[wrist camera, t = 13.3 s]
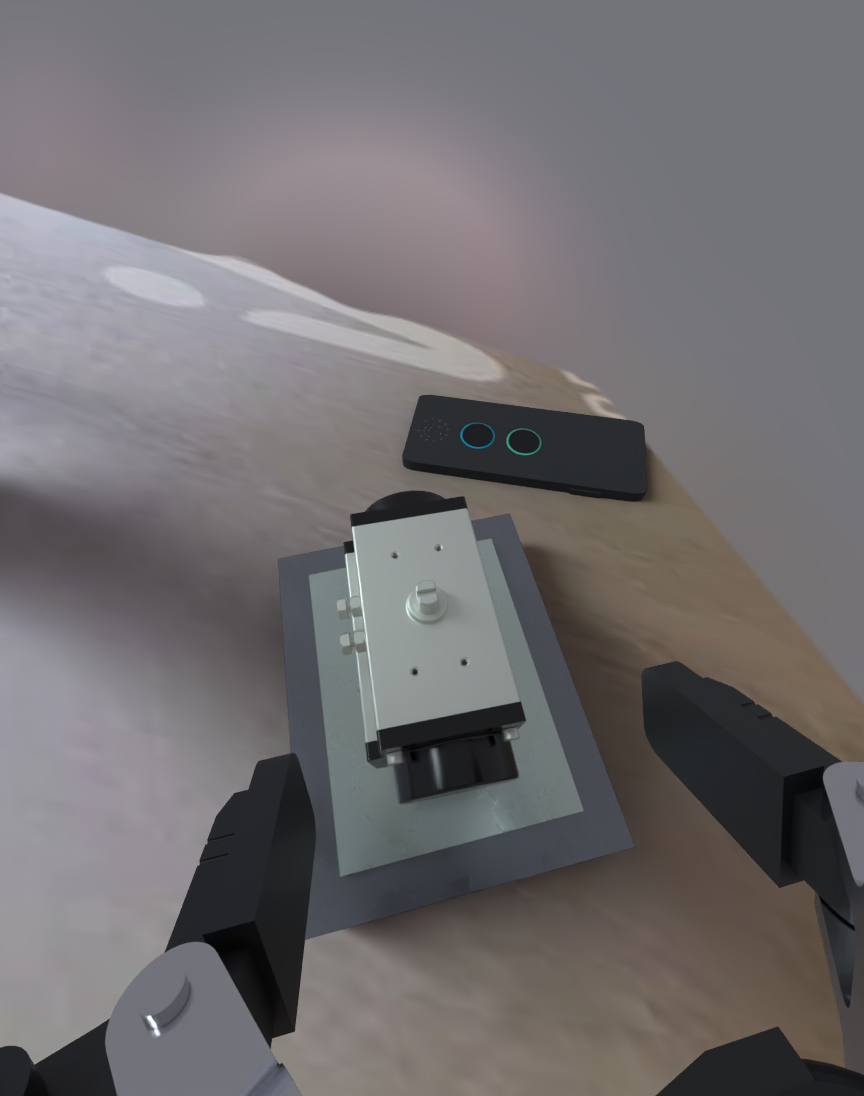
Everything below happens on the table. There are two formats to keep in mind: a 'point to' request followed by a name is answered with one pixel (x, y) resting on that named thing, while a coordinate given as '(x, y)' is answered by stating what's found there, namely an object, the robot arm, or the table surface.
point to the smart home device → (528, 447)
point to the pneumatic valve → (428, 649)
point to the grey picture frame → (452, 821)
